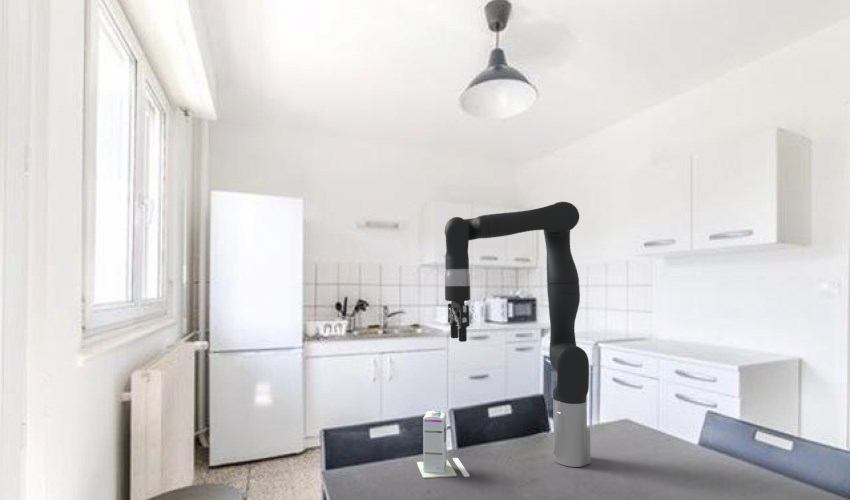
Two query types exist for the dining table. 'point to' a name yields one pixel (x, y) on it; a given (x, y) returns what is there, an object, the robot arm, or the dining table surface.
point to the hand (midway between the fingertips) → (458, 339)
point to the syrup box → (434, 442)
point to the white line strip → (461, 467)
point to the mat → (447, 473)
